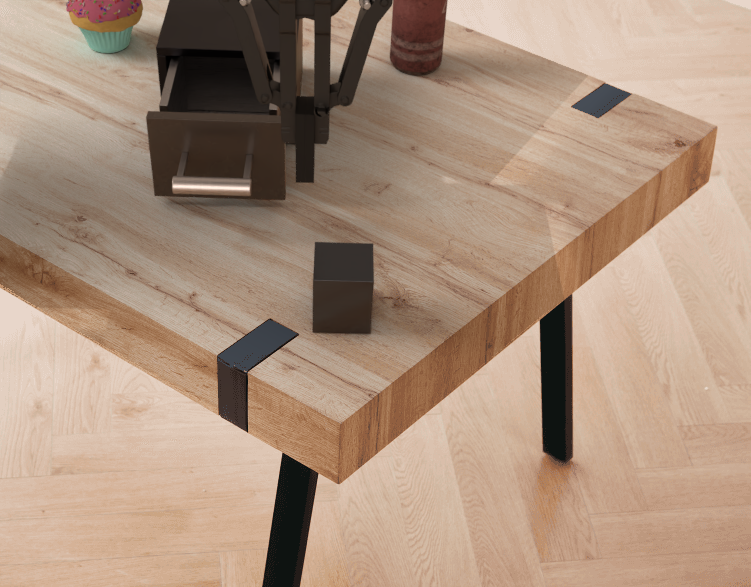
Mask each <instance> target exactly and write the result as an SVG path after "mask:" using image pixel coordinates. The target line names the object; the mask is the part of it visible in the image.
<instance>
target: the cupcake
mask: <svg viewBox="0 0 751 587" xmlns="http://www.w3.org/2000/svg"><path fill="white" fill-rule="evenodd" d="M65 6H66V7H65V8H66V10H65V11H66V12H67V13H68V16H69V19H70V21H71V23H72V24H73V25H74V26H75V27H77V28H78V29H79V30H80V32H81V34H82V35H83V38H84V39H85V41H86V43H87V45H88V47H89V48H90V49H91V50H93V51H95V52H96V53H97V52H98V53H102V54H114V53H118V52H121V51H123V50H125V49H127V48H128V47H129V45H130V43H131V39H132V38H131V37H132V33H133V28H134V26H137V24H139V22H140V20H141V18H142V16H143V10H144V4H143V1H142V0H67V3H65Z"/></svg>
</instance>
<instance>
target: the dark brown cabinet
mask: <svg viewBox="0 0 751 587" xmlns="http://www.w3.org/2000/svg"><path fill="white" fill-rule="evenodd" d="M251 4H252V7H253V10H254V14H255V17H256V21H257V24H258V28H259V31H260V34H261V38H262V41H263V45H264V48H265V51H266V55H267V58H268V59H274V60H280V34H279V15H278V14H277V13H275V12H274V11H273V10H272V8H271V7H270V6H269V5H268V3H267V2H266V1H265V0H251ZM303 25H304V18H302V19H298V20H297V96H302V95H301V92H302V82H303V80H302V79H303V64H304V57H303V55H304V54H303V53H304V51H303V50H304V48H303V47H304V45H303V44H304V42H303V41H304V40H303V39H304V26H303ZM155 52H156V53H155V54H156V62H157V71H158V73H157V74H158V82H159V83H158V84H159V93H160V97H161V96H162V92H163V88H164V84H165V80H166V77H167V73H168V69H169V65H170V61H171V58H172V56H193V57H220V58H244V55H243V52H242V48H241V45H240V42H239V39H238V35H237V32H236V29H235V26H234V22H233V19H232V18H231V17H230V15H229V14H228V13H227V11H226V10H225V9H224V7H223V6H222V5H221V3H220V2H219V0H168V3H167V7H166V11H165V13H164V17H163V21H162V25H161V28H160V32H159V35H158V39H157V42H156V45H155ZM286 144H289V145H290V144H291V145H295V144H294V143H285V145H286Z"/></svg>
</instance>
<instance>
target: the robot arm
mask: <svg viewBox="0 0 751 587" xmlns="http://www.w3.org/2000/svg"><path fill="white" fill-rule="evenodd" d="M265 1H266V2H267V3H268V5H269V6H270V7H271V8H272V10H273V11H274V12H275V13H277V14H278V15H279V34H280V82H277V81H274V79H273V75H272V72H271V68H270V65H269V62H268V58H267V55H266V51H265V48H264V45H263V41H262V38H261V34H260V31H259V28H258V24H257V21H256V17H255V14H254V10H253V7H252V4H251V0H219V2H220V3H221V5H222V6H223V7H224V9H225V10H226V11H227V13H228V14H229V15H230V17H231V18H232V19H233V22H234V26H235V29H236V32H237V35H238V39H239V42H240V45H241V48H242V52H243V55H244V58H245V61H246V64H247V68H248V71H249V74H250V77H251V81H252V84H253V87H254V90H255V94H256V97H257V100H258V101H259V102H260V103H261V104H269V103H271V104H274V105H276V106H278V107H279V109H280V111H281V138H282V141H283V143H285V144H286V143H294V144H293V145H295V147H294V148H295V183H298V184H299V183H300V184H301V183H302V184H303V183H304V184H314V183H315V163H316V162H315V160H316V159H315V158H316V157H315V156H316V152H315V150H316V145H327V143H328V142H329V139H330V112H331V110H333V108H336V107H338V106H341V107H346V108H347V107H349V106H351V105H352V104H353V102H354V98H355V95H356V92H357V89H358V86H359V83H360V80H361V78H362V77H361V76H362V73H363V70H364V68H365V64H366V61H367V58H368V55H369V51H370V48H371V46H372V42H373V40H374V39H373V38H374V36H375V33H376V29H377V26H378V24H379V23H380V21H381V20H382V19H383V17H384V16H385V15H386V13H387V12H388V11H389V10H390V9H391V7H393V0H358V4H359V11H358V14H357V17H356V21H355V24H354V27H353V31H352V32H351V33H352V34H351V38H350V41H349V43H348V46H347V50H346V53H345V56H344V60H343V63H342V66H341V69H340V73H339V77H338V80H337V81H336V82H333V83H331V56H332V55H331V49H332V44H331V42H332V17H334V16H335V15H337V14H338V13H339V12H340V10H342V8H343V7H344V6H345V4H346V3H347V2H348V1H349V0H265ZM302 18H303V19H308V20H311V21H314V23H313V30H314V31H313V35H314V36H313V39H314V42H313V46H314V48H313V51H314V52H313V66H314V67H313V95H312V96H311V95H309V96H305V95H300V96H297V20H298V19H302Z"/></svg>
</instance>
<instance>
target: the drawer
mask: <svg viewBox="0 0 751 587" xmlns="http://www.w3.org/2000/svg"><path fill="white" fill-rule="evenodd" d="M268 62H269V65H270V68H271V72H272V75H273V79H274V81H277V82H280V60H274V59H268ZM145 122H146V130H147V131H146V132H147V138H148V139H147V140H148V147H149V148H148V149H149V157H150V165H151V173H152V174H151V175H152V177H151V178H152V184H153V193H154V194H153V195H154V197H167V198H168V197H169V198H170V197H172V198H200V199H231V200H259V201H260V200H263V201H286V197H287V169H286V168H287V167H286V166H287V163H286V162H287V161H286V160H287V159H286V158H287V157H286V156H287V155H286V153H287V152H286V150H287V149H286V143H283V141H282V138H281V111H280V109H279V107H278V106H276V105H274V104H271V103H269V104H261V103H260V102H259V101H258V100H257V97H256V94H255V90H254V87H253V84H252V81H251V77H250V74H249V71H248V68H247V64H246V61H245V58H220V57H193V56H172V58H171V61H170V65H169V69H168V73H167V77H166V80H165V84H164V88H163V92H162V96H161V95H160V100H159V104H158V110H148V111H147V113H146V116H145Z"/></svg>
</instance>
